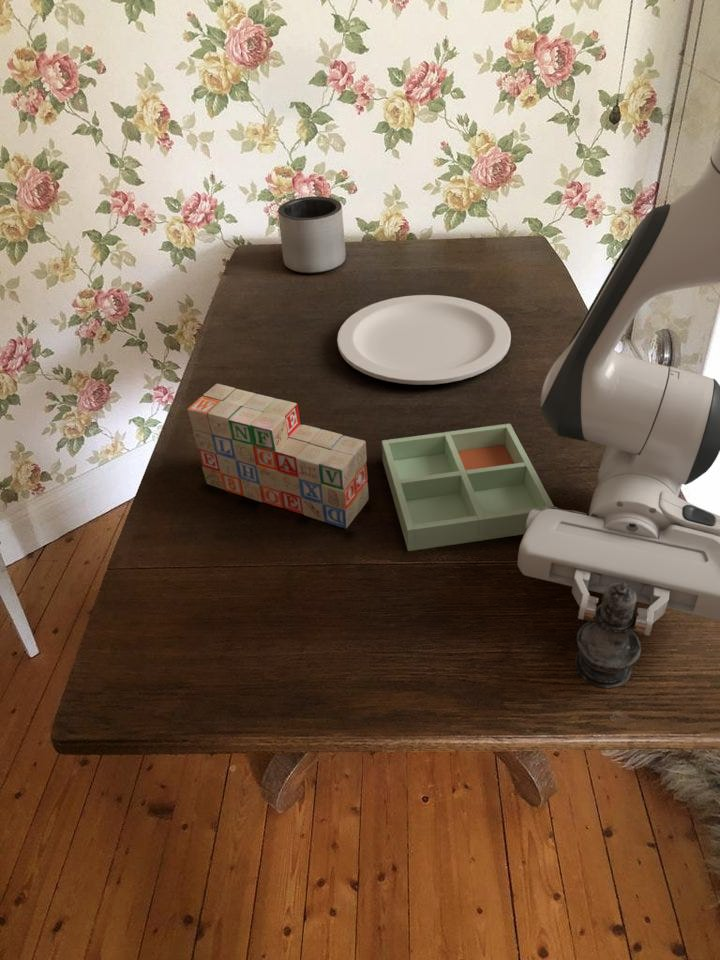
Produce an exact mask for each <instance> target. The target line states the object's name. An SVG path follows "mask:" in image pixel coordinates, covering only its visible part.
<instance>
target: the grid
mask: <svg viewBox="0 0 720 960" xmlns="http://www.w3.org/2000/svg"><path fill="white" fill-rule="evenodd" d="M528 456H529V455H527V452H526V451H525V449H524V447H523V445H522V443H521V442H520V439H519V438H518V436H517V434H516V432H515V430H514V427H513V426H512V424H511V423H502V424H495V425H487V426H481V427H473V428H466V429H458V430H450V431H444V432H436V433H428V434H423V435H415V436H407V437H399V438H391V439H384V440H381V457H382V458H381V459H382V464H383V467H384V471H385V475H386V478H387V481H388V485H389V489H390V492H391V496H392V499H393V503H394V507H395V510H396V513H397V518H398V520H399V524H400V528H401V531H402V535H403V538H404V542H405V545H406V549H407V552H412V551H420V550H426V549H433V548H440V547H447V546H454V545H461V544H467V543H475V542H481V541H488V540H493V539H500V538H501V539H502V538H508V537H516V536H521V535H524V534H525V532H526V530H527V529H526V527H525V523H526V520H527V516H528V514H529V513H530V511H531V510H533V509H539V508H545V506H553V507H555V506H554V504H553V502H552V500H551V498H550V497H549V494H548V492H547V490H546V489H545V487H544V485H543V483H542V481H541V479H540V477H539V475H538V473H537V472H536V470H535V467H534V466H533V464H532V462H531V460H530V458H529V457H528Z"/></svg>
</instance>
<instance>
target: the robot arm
mask: <svg viewBox="0 0 720 960" xmlns="http://www.w3.org/2000/svg"><path fill="white" fill-rule="evenodd" d="M707 286H720V134H719V135H718V137H717V139H716V142H715V144H714V147H713V149H712V151H711V154H710V156H709V159H708V161H707V163H706V165H705V167H704V169H703V171H702V172H701V173H700V175H699V177H697V179H696V180H695V182H694V183H693V184H691V186H690V187H689V188H688V189H687V190H686V191H685V192H684V193H683V194H681V195H680V196H679V197H678V198H676V199H675V200H674V201H672V202H671V203H667V204H663V205H660V206H656V207H653V208H652V209H650V211H649V212H648V213H647V214H646V215H645V216H644V218H643V219H642V220H641V221H640V223H639V224H638V225H637V226H636V228H635V229H634V231H633V232H632V234H631V235H630V237H629V239H628V241H627V242H626V244H625V245H624V246H623V249H622V251H621V252H620V253H619V255H618V257H617V258H616V260H615V262H614V264H613V266H612V267H611V269H610V271H609V273H608V274H607V276H606V278H605V279H604V281H603V283H602V285H601V286H600V289H599V290H598V292H597V294H596V296H595V298H594V299H593V301H592V303H591V305H590V306H589V309H588V310H587V312H586V313H585V315H584V317H583V319H582V320H581V322H580V324H579V326H578V328H577V330H576V331H575V333H574V335H573V337H571V340H570V341H569V343H568V344H567V345H566V348H565V349H564V351H563V352H562V353H561V354H560V355H559V357H558V358H557V359H556V360H555V361H554V363H553V365H552V366H551V367H550V369H549V371H548V373H547V374H546V377H545V379H544V382H543V386H542V389H541V393H540V407H539V411H540V412H541V414H542V416H543V418H544V419H545V421H546V423H547V424H548V425H549V427H550V429H552V431H553V432H554V433H555V434H556V436H558V437H562V438H568V439H573V440H578V441H583V442H591V443H594V444H598V445H600V446H601V445H602V446H605V449H604V452H603V455H602V457H601V461H600V464H599V468H598V472H597V485H596V487H595V489H594V491H593V494H592V497H591V502H590V505H589V511H588V512H587V513H586V512H583V511H578V510H573V509H571V510H570V509H562V508H558V507H557V506H554V505H553V506H554V507H553V506H545V508H539V509H533V510H531V511H530V513H529V514H528V516H527V520H526V523H525V527H526V529H527V530H526V532H525V534H523V536H522V539H521V541H520V544H519V548H518V554H517V567H518V569H519V571H520V572H521V574H522V575H523V576H526V577H530V578H534V579H537V580H543V581H547V582H551V583H555V584H560V585H564V586H568V587H571V594H572V595H573V597H574V599H575V601H576V603H577V605H578V606H579V610H578V615H577V619H578V620H583V621H587V622H589V621H591V622H594V620H595V619H596V618H595V614H596V609H597V607H598V605H599V597H597V596H593V595H591V594H590V592H594V593H598V594H602V595H604V592H605V590H606V588H607V587H608V586H610V585H612V584H615V583H622V582H624V583H625V584H626V585H628V586H630V587H631V588H632V589H633V590H634V591H635V593H636V598H637V601H636V603H641V604H645V605H648V606H649V607H647V608H644V607H639V606H638V607H637V609H636V614H635V619H636V620H635V624H634V626H633V627H632V631H633V632H634V633H635V634H640V635H644V636H648V637H650V636H651V632H652V629H653V625H654V623H656V621H657V620H659V619H660V618H661V617H662V616H664V615H665V613H666V610H671V611H675V612H678V613H684V614H688V615H692V616H696V617H700V618H705V619H708V620H713V621H717V622H720V515H719V514H716V513H713V512H712V511H709V510H706V509H704V508H701V507H699V506H697V505H695V504H692V503H690V502H688V501H686V500H684V499H683V498H680V497H679V495H680V492H681V489H682V486H684V485H685V486H686V485H689V484H691V483H693V482H694V481H695V480H697V479H698V478H700V477H701V476H702V475H704V474H706V473H707V472H708V471H709V470H710V468H711V467H712V466H713V464H714V463H715V462H716V460H717V458H718V456H719V454H720V383H719V382H718V381H717V379H715V378H712V377H709V376H706V375H702V374H699V373H695V372H692V371H689V370H685V369H681V368H678V367H673V366H670V365H668V366H667V365H663V364H660V363H655V362H652V361H649V360H645V359H641V358H637V357H634V356H630V355H626V354H623V353H620V352H618V351H616V350H615V349H616V347H617V346H618V345H619V343H620V341H621V340H622V338H623V336H624V335H625V333H626V331H627V330H628V328H629V327H630V325H631V323H632V322H633V321H634V319H635V317H636V315H637V314H638V312H639V311H640V310H641V308H643V306H644V305H645V304H646V303H647V302H649V301H650V300H652V299H653V298H655V297H658V296H660V295H662V294H666V293H669V292H673V291H679V290H684V289H690V288H697V287H707ZM589 591H590V592H589Z"/></svg>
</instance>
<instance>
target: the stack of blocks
mask: <svg viewBox="0 0 720 960" xmlns="http://www.w3.org/2000/svg"><path fill="white" fill-rule="evenodd" d="M299 411H300V410H299V405H298V403H296V402H294V401H293V402H292V401H289V400H286V399H285V400H284V399H280V398H275V397H273V396H268V395H264V394H261V393H260V394H259V393H255V392H251V391H247V390H243V389H239V388H235V387H232V386H229V385H224V384H222V383H216V384H214V385H213V386H212V387H211V388H210V389H208V390H207V391H206V392H205V393H203V394H202V396H200V397H198V399H196V400H195V401H194V402H193V403H192V404H191V405H190V406H189V407H188V408H187V414H188V416H189V421H190V424H191V429H192V434H193V437H194V442H195V446H196V448H197V451H198V455H199V459H200V463H201V465H202V466H201V468H202V472H203V475H204V479H205V482H206V484H207V485H209V486H212V487H214V488H217V489H221V490H224V491H226V492H228V493H232V494H235V495H239V496H241V497H245V498H247V499H249V500H253V501H256V502H259V503H265V504H268V505H271V506H273V507H278V508H280V509H285V510H288V511H290V512H294V513H297V514H300V515H304V516H305V517H308V518H311V519H314V520H316V521H321V522H324V523H326V524H330V525H333V526H336V527H338V528H343V529H348V527H349V526H350V525H351V524H352V522H353V521H354V520H355V518H356V517H357V516H358V514H359V513H360V512H361V511H362V510H363V508H364V506H365V505H366V504H367V502H368V501H369V498H370V497H369V496H370V495H369V484H368V479H369V477H368V467H367V462H368V461H367V460H368V459H367V458H368V457H367V456H368V455H367V443H366V440H364V439H359V438H356V437H351V436H347V435H343V434H341V433H338V432H334V431H331V430H327V429H321V428H319V427H315V426H311V425H306V424H301V419H300V412H299Z"/></svg>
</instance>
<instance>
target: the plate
mask: <svg viewBox="0 0 720 960" xmlns="http://www.w3.org/2000/svg"><path fill="white" fill-rule="evenodd" d="M511 340H512V335H511V329H510V327H509V325H508V323H507V322H506V320H505V319H504V318H503V317H502V316H501V315H500V314H498V313H497V312H496V311H495V310H493V309H491V308H489V307H487V306H485V305H483V304H480V303H478V302H475V301H473V300H469V299H465V298H461V297H455V296H448V295H437V294H416V295H415V294H414V295H406V296H404V295H403V296H399V297H392V298H388V299H384V300H381V301H377V302H375V303H372V304H369V305H367V306H365V307H362V308H361V309H359V310H358V311H356V312H354V313H353V314H351V315H350V316H349V317H348V318H347V319H346V320H344V322H343V324H342V325H341V326H340V328H339V330H338V333H337V338H336V342H337V347H338V351H339V354H340V355H341V357H342V358H343V359H344V361H345V362H346V363H347V364H348V365H350V367H352V368H353V369H355V370H357V371H358V372H360V373H362V374H364V375H367V376H369V377H372V378H375V379H378V380H381V381H385V382H390V383H395V384H396V383H397V384H402V385H415V386H416V385H417V386H418V385H419V386H421V385H440V384H448V383H453V382H458V381H463V380H466V379H469V378H472V377H475V376H478V375H480V374H482V373H484V372H486V371H488V370H490V369H492V368H493V367H495V366H496V365H497V364H499V363H500V362H501V361H502V360H503V359H504V357H505V356H507V354H508V352H509V349H510V347H511V342H512V341H511Z"/></svg>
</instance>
